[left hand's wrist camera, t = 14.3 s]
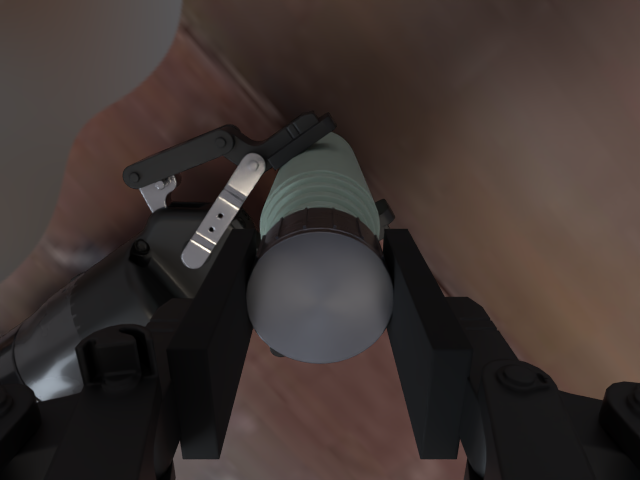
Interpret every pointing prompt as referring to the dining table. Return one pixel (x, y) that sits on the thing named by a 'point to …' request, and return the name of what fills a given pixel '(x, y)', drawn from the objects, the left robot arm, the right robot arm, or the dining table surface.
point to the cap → (319, 287)
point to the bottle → (321, 185)
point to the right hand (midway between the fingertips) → (360, 165)
